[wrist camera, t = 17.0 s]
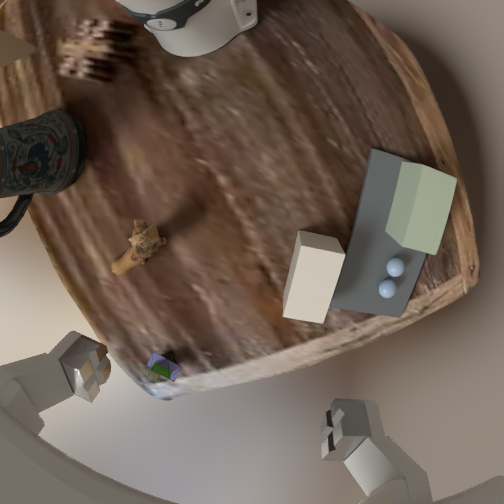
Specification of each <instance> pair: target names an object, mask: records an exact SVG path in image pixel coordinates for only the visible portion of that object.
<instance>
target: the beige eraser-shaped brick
mask: <svg viewBox="0 0 504 504" xmlns="http://www.w3.org/2000/svg"><path fill="white" fill-rule="evenodd" d="M344 258H345V253H344V251H343V249H342V247H341V245H340V243H339V241H338V240H337V238H335V237H330V236H325V235H320V234H316V233H311V232H306V231H301V230H299V231H298V236H297V240H296V245H295V249H294V253H293V258H292V262H291V266H290V270H289V274H288V278H287V282H286V286H285V290H284V303H283V317H287V318H293V319H298V320H304V321H310V322H316V323H322V324H323V322H324V319H325V316H326V313H327V311H328V308H329V305H330V302H331V299H332V296H333V293H334V290H335V287H336V284H337V281H338V278H339V274H340V271H341V268H342V265H343V261H344Z"/></svg>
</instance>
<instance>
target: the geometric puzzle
mask: <svg viewBox="0 0 504 504" xmlns="http://www.w3.org/2000/svg"><path fill="white" fill-rule="evenodd" d="M168 353H169V352H168ZM171 353H173V351H171ZM165 354H166V353H165ZM162 355H163V354H162ZM162 355H160V354H158V353H156V352H154V351H153V353H152V355H151V357H150V359H149V362H148V364H147V371H148V375H149V376H150V377H151V378H152V379H153V380H154V381H155V383H157V382H156V381H157V379H158V378H159V376H160V374H161V375H163V376H165V377H166V378H168V379H170V380H172V381H173V382H175V379H176V378H177V376H178V374H179V372H180V370H181V369H182V368H183V367H181V366H179V365H178V364H176V363H174V362H173V361H172V362H171V360H168V358H169V357H168V358H167V359H166V357H165V358H164V356H163V357H162ZM170 355H171V354H170ZM170 355H169V356H170ZM173 357H174V355H173ZM175 357H176V356H175ZM174 361H175V359H174ZM148 367H149V368H150V369H152V370H154V371H156V372H154V371H152V370H150V369H149V368H148ZM163 381H164V380H163ZM159 382H160V381H159Z"/></svg>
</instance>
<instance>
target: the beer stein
mask: <svg viewBox="0 0 504 504" xmlns="http://www.w3.org/2000/svg"><path fill="white" fill-rule="evenodd" d="M85 155H86V138H85V133H84V130H83V127H82V124H81V123H80V122H79V121H78V119H77V118H76V117H75V116H74V115H71V114H68V113H65V112H63V111H60V110H52V111H48V112H46V113H44V114H42V115H41V116H38V117H36V118H33V119H30V120H27V121H24V122H20V123H16V124H13V125H10V126H6V127H3V128H0V198H5V197H11V196H16V195H18V199H17V201H16V203H15V205H14V207H13V209H12V211H11V212H10V213H9V215H8V216H7V217H6V218H5V219H4V220H3V221H2V222H0V237H3V236H5V235H7V234H9V233H10V232H11V231H12V230H13V229H14V228H15V227H16V226H17V225H18V223H19V222H20V220H21V219H22V217H23V216H24V214H25V212H26V210H27V208H28V206H29V204H30V202H31V200H32V197H33V194H34V193H42V194H45V195H54V194H57V193H59V192H61V191H63V190H64V189H66V188H67V187H69V186H70V185H72V184H73V183H74V182H75V180H76V179H77V177H78V176H79V174H80V173H81V171H82V168H83V164H84V161H85Z"/></svg>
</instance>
